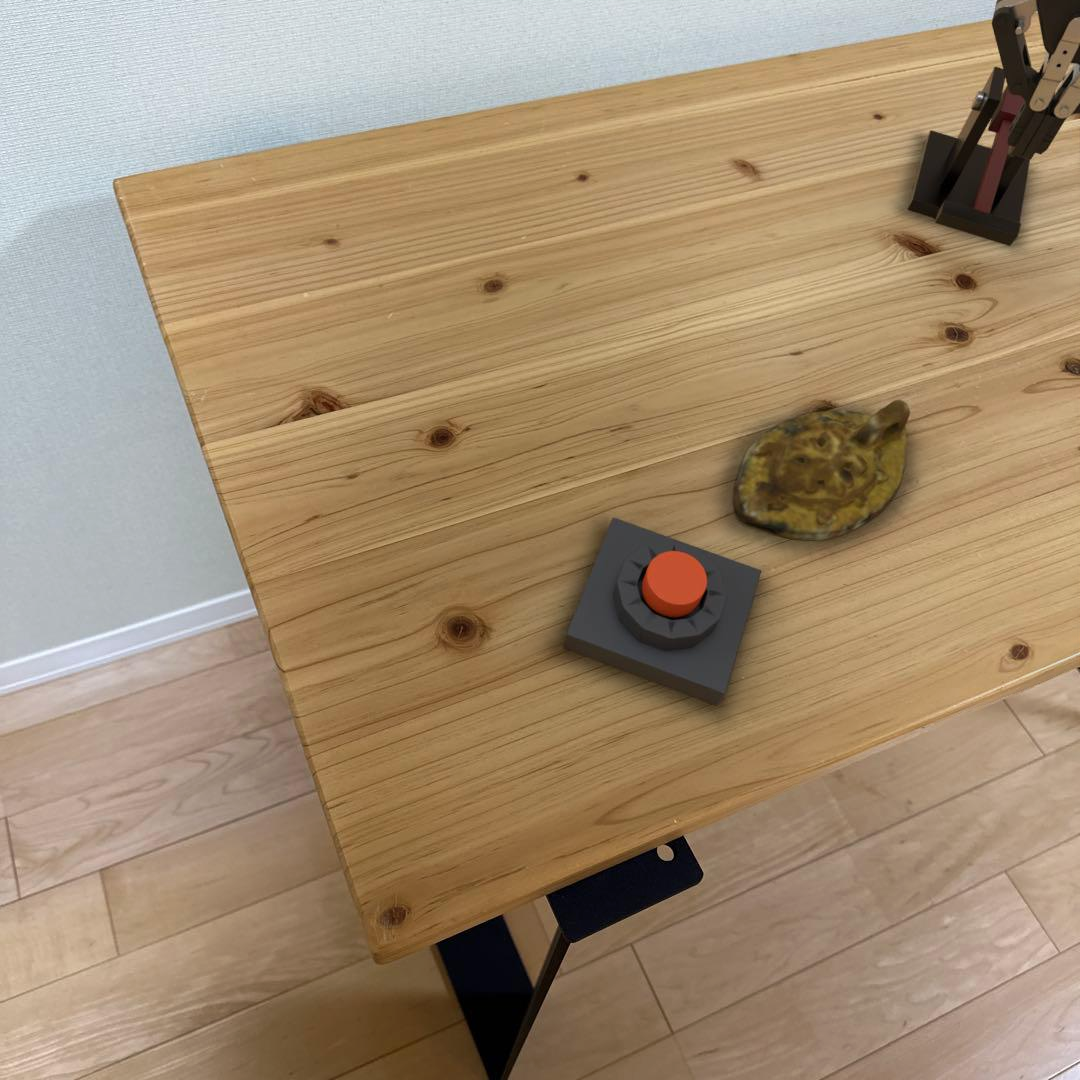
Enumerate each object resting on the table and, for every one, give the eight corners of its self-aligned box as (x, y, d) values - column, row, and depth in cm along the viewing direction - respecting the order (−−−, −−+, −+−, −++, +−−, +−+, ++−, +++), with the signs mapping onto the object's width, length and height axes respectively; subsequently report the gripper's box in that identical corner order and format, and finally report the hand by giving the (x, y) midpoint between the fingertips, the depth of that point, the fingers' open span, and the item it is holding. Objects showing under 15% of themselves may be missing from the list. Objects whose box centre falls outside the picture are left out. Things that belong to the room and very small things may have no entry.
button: (707, 576, 60) (714, 563, 58) (691, 626, 58) (698, 613, 56) (651, 556, 60) (656, 542, 58) (633, 605, 58) (639, 591, 57)
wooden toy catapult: (1010, 244, 82) (1074, 145, 74) (906, 211, 83) (958, 110, 75) (1022, 172, 87) (1084, 71, 79) (924, 142, 88) (974, 39, 80)
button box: (752, 586, 64) (770, 556, 60) (716, 707, 59) (733, 682, 56) (608, 533, 65) (617, 501, 61) (562, 649, 60) (569, 621, 57)
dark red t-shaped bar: (1006, 250, 76) (1021, 233, 74) (931, 227, 77) (943, 208, 75) (1045, 118, 80) (1060, 97, 77) (973, 96, 80) (985, 75, 78)
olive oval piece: (782, 583, 65) (932, 478, 70) (809, 555, 61) (967, 446, 66) (695, 477, 68) (846, 384, 73) (716, 443, 63) (874, 346, 68)
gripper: (1051, -106, 55) (923, 155, 70) (1292, -43, 53) (1109, 210, 68) (1062, -164, 59) (939, 95, 74) (1288, -107, 57) (1115, 147, 72)
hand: (1021, 150), depth 71 cm, fingers closed
